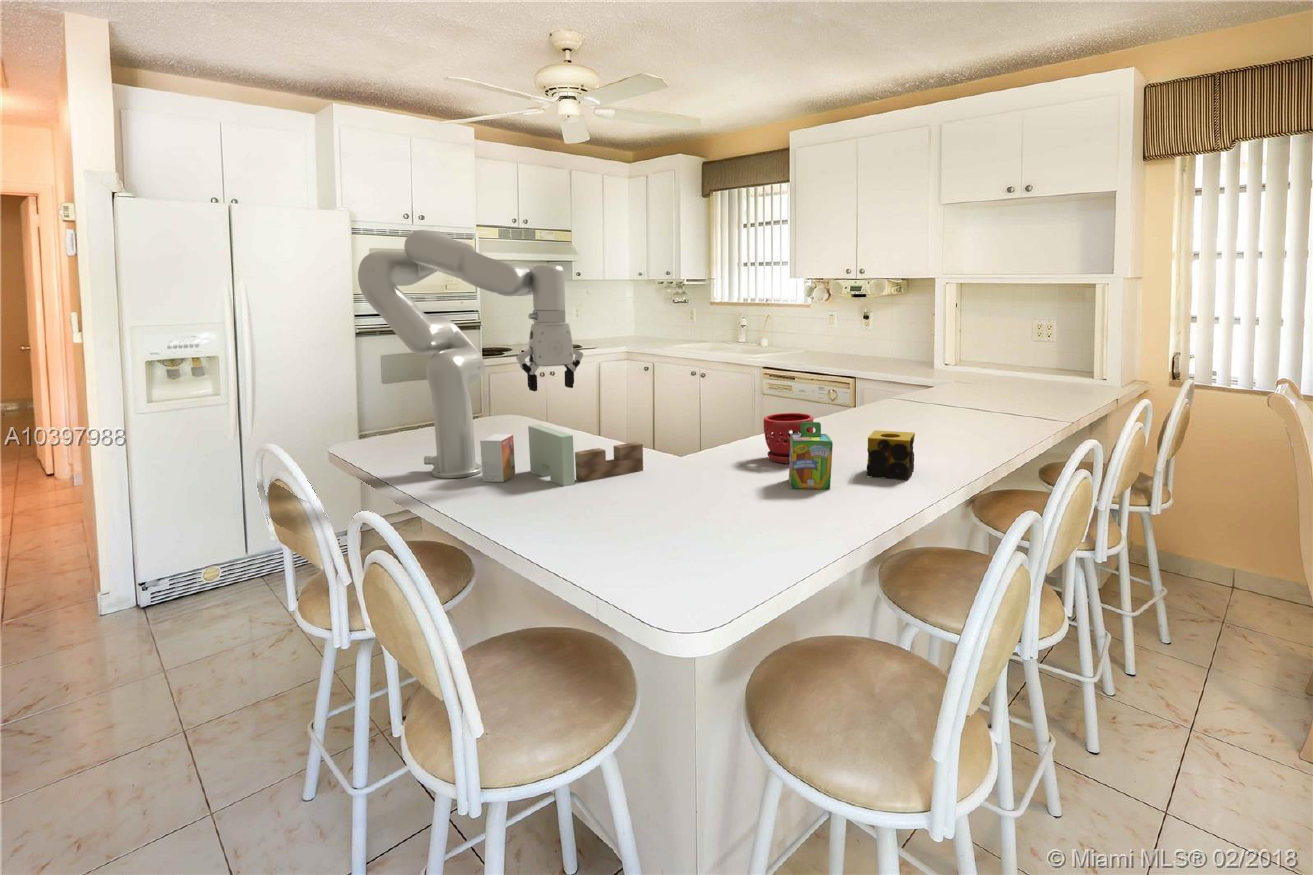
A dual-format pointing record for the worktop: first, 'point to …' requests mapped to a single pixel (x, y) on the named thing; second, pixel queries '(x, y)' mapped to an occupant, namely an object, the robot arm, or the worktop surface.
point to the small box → (497, 458)
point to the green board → (551, 454)
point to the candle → (890, 454)
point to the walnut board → (608, 462)
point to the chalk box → (810, 458)
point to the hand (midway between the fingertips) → (551, 388)
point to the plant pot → (783, 433)
